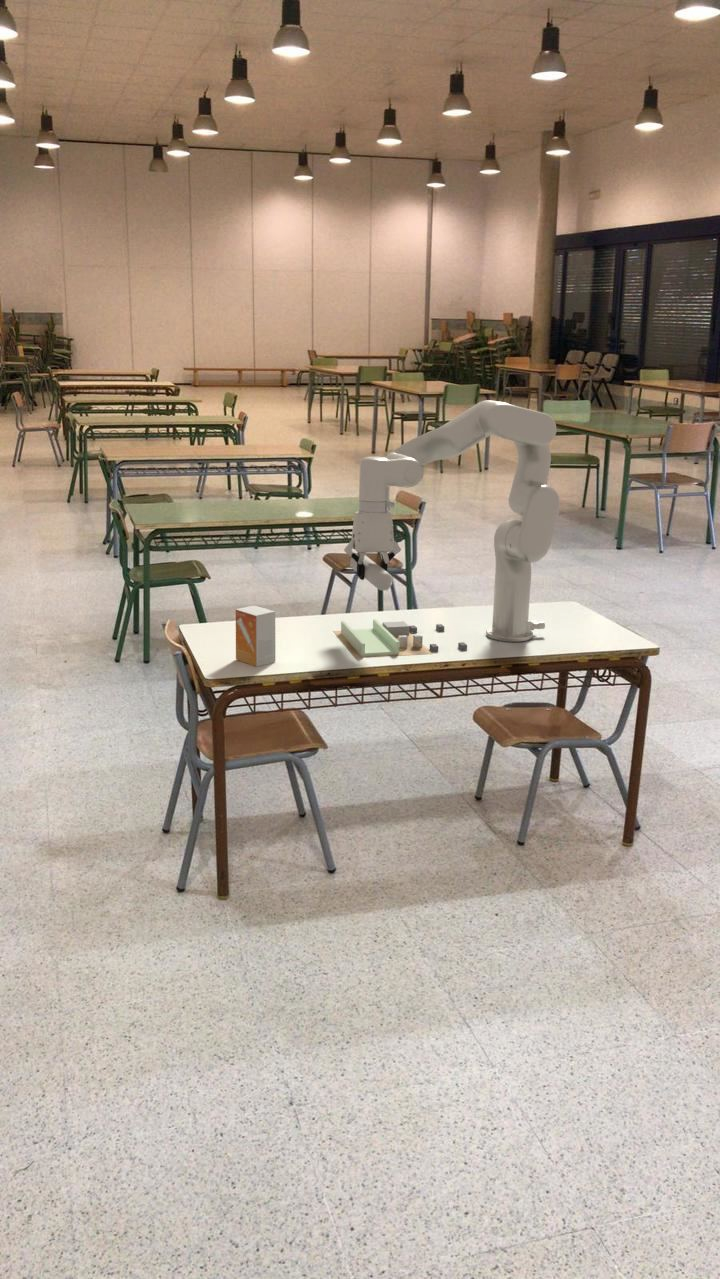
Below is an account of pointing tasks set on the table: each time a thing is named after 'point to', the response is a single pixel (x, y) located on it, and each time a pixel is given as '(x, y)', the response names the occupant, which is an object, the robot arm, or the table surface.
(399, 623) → the grey faceted block
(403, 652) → the board
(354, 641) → the tray
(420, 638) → the bench dogs
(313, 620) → the table surface
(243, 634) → the small box
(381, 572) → the tube
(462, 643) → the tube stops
